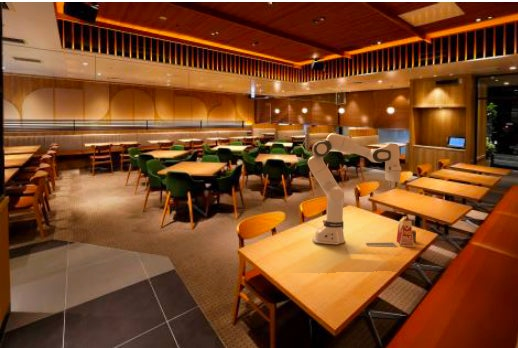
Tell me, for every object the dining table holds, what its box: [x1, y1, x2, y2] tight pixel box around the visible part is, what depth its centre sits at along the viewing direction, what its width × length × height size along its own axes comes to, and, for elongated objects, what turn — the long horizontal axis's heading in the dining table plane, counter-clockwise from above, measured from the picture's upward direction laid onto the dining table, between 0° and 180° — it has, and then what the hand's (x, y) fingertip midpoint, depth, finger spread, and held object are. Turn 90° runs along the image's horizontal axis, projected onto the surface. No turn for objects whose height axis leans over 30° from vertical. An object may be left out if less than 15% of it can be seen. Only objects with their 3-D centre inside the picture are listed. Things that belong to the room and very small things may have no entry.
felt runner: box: [365, 241, 398, 248], centre depth 195 cm, size 19×9×1 cm, turn 82°
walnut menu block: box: [412, 229, 417, 243], centre depth 199 cm, size 4×4×8 cm
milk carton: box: [396, 215, 415, 248], centre depth 194 cm, size 9×9×20 cm
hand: (391, 187), depth 194 cm, fingers open, 3 cm apart
